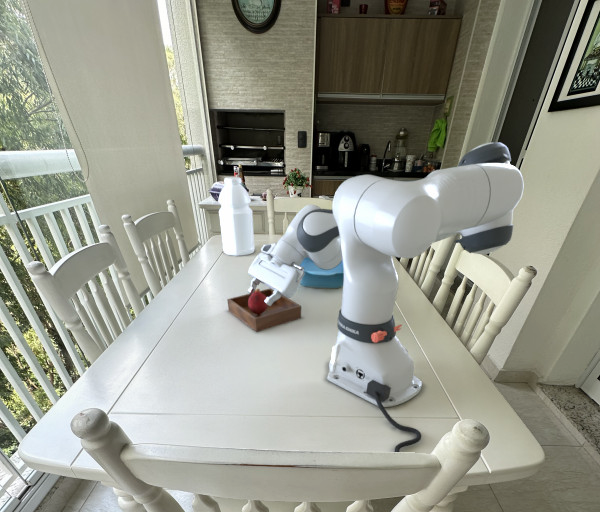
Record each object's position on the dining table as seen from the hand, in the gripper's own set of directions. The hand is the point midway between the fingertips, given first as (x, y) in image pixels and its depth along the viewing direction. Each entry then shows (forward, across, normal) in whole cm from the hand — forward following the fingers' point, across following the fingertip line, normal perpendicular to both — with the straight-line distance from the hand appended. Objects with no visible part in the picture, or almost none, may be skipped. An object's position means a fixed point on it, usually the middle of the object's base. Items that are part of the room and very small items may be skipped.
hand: (258, 298), depth 103 cm
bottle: (-15, +61, -23) cm, 67 cm away
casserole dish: (-23, +17, -31) cm, 43 cm away
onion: (+4, 0, -4) cm, 5 cm away
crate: (+3, 0, -5) cm, 6 cm away
